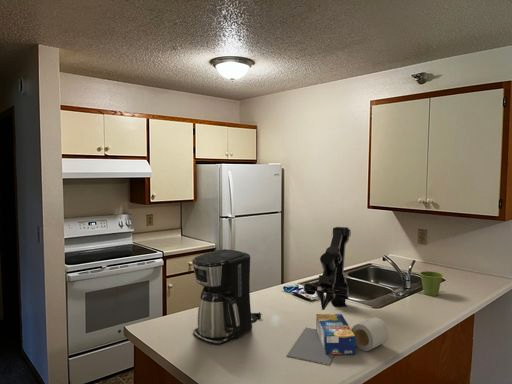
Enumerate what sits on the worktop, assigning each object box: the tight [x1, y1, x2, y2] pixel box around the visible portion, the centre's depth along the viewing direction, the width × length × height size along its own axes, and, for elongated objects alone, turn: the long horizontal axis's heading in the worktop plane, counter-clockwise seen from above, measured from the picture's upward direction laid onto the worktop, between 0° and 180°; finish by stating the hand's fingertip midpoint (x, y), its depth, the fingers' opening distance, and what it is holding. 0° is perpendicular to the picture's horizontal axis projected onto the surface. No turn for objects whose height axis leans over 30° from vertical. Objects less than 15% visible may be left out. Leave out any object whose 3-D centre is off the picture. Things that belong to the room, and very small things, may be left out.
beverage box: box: [315, 313, 356, 355], centre depth 152 cm, size 7×11×22 cm
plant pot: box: [419, 270, 444, 297], centre depth 206 cm, size 12×12×11 cm
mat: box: [286, 327, 335, 366], centre depth 149 cm, size 26×16×1 cm, turn 157°
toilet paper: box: [351, 317, 390, 352], centre depth 148 cm, size 10×10×10 cm
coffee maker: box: [192, 248, 263, 345], centre depth 163 cm, size 23×32×34 cm
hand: (322, 309), depth 159 cm, fingers closed
